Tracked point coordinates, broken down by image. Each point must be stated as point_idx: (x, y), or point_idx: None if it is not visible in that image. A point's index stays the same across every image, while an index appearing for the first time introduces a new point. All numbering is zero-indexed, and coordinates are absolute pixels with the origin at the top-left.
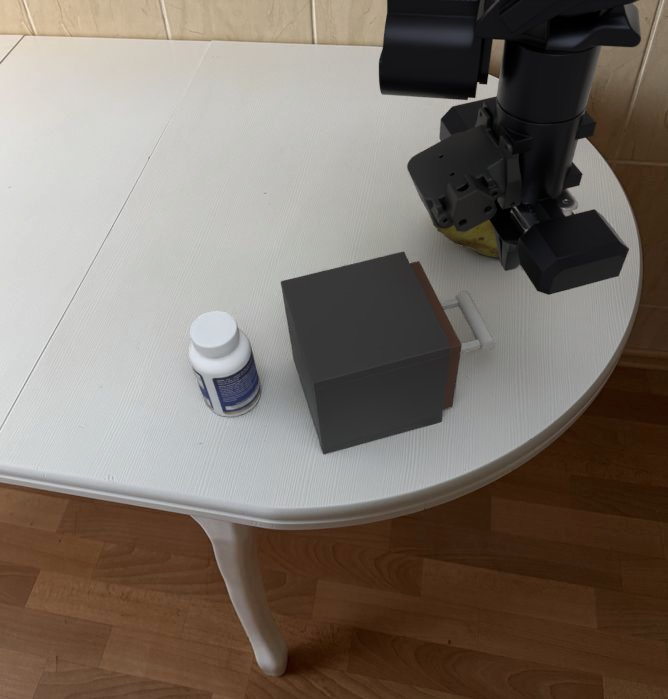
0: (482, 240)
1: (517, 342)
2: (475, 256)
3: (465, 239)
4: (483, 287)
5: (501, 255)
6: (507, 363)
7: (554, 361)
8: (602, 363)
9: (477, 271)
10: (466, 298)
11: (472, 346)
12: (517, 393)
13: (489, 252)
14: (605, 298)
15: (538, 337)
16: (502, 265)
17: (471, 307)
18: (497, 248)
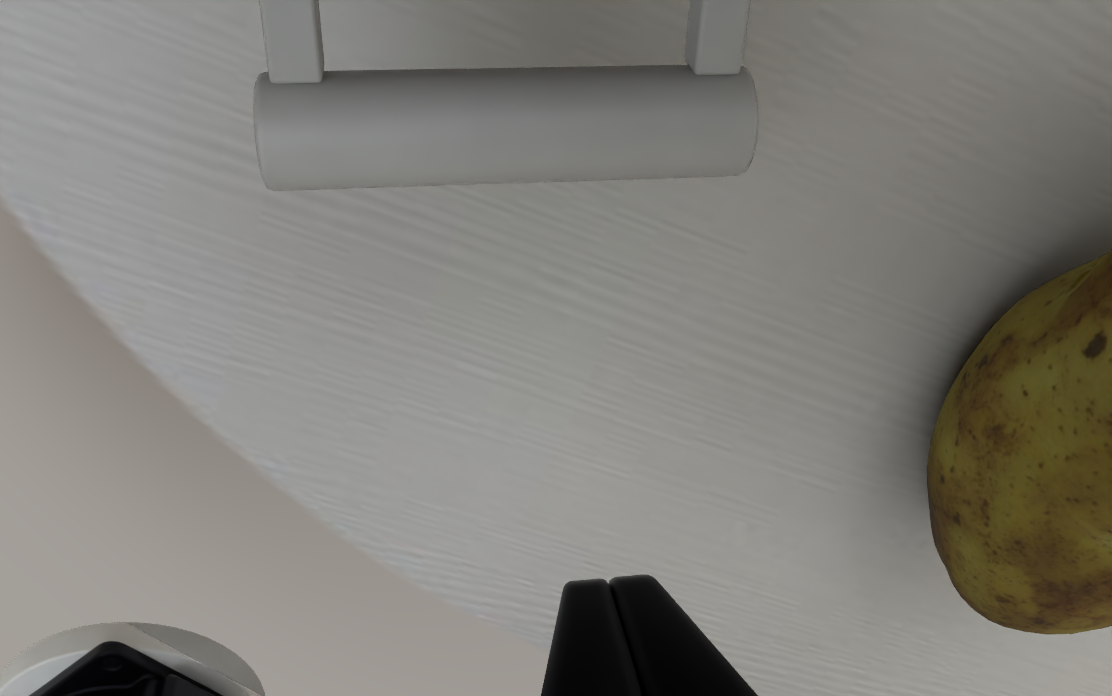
0: (1083, 345)
1: (508, 248)
2: (1046, 254)
3: None
4: (868, 223)
5: (651, 690)
6: None
7: (359, 349)
8: (304, 496)
9: (966, 232)
10: (685, 142)
11: (263, 20)
12: (214, 142)
13: (1013, 330)
14: None
15: (505, 336)
16: (613, 596)
17: (597, 146)
18: (744, 692)
